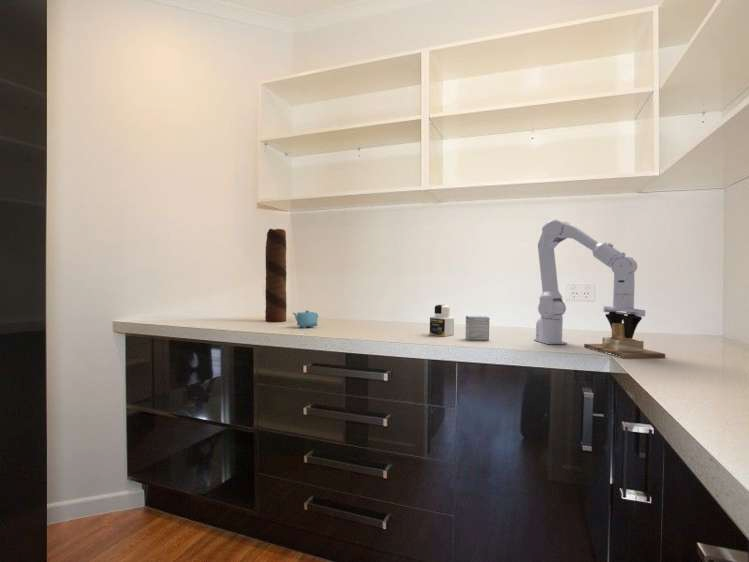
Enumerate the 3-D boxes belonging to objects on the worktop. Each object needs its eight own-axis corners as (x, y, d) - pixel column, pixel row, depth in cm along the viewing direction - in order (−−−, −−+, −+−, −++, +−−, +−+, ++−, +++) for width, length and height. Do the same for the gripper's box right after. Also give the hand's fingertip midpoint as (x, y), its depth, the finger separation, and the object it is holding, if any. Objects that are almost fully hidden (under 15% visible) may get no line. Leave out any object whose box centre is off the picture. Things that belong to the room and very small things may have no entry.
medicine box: (485, 338, 155) (486, 316, 154) (489, 340, 150) (489, 317, 150) (465, 338, 154) (465, 315, 154) (468, 340, 150) (468, 317, 150)
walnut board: (584, 347, 138) (584, 335, 138) (621, 347, 140) (621, 334, 140) (623, 358, 121) (623, 344, 121) (665, 357, 123) (665, 343, 122)
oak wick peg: (611, 347, 132) (611, 323, 132) (621, 347, 133) (622, 323, 133) (621, 349, 128) (621, 324, 128) (631, 349, 129) (632, 324, 129)
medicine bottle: (429, 334, 163) (429, 304, 162) (439, 333, 168) (439, 304, 168) (444, 336, 158) (444, 306, 158) (454, 334, 163) (454, 305, 163)
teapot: (293, 329, 173) (293, 311, 173) (289, 327, 178) (289, 310, 178) (320, 327, 178) (320, 310, 178) (315, 326, 184) (315, 309, 184)
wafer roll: (266, 322, 192) (267, 227, 191) (263, 320, 202) (264, 230, 201) (288, 322, 196) (289, 229, 195) (284, 319, 206) (285, 231, 205)
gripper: (596, 293, 136) (595, 333, 137) (631, 295, 122) (630, 340, 123) (614, 293, 138) (613, 333, 138) (651, 295, 124) (650, 340, 124)
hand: (622, 336), depth 130 cm, fingers open, 4 cm apart
